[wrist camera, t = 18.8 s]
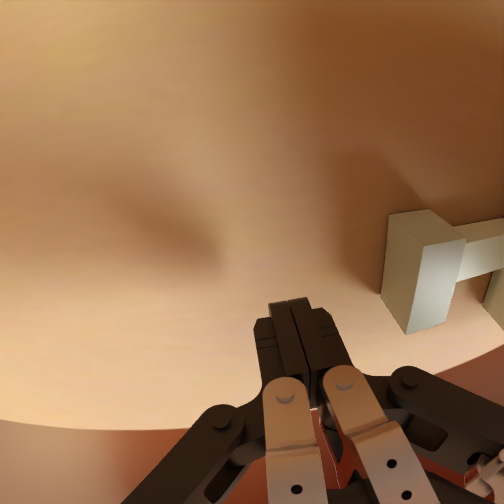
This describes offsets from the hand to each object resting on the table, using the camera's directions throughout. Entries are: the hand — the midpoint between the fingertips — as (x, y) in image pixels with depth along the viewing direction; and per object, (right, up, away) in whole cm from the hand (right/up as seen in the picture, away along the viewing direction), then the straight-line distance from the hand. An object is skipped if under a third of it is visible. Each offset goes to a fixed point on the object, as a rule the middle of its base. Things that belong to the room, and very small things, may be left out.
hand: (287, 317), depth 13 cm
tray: (+16, +4, +4) cm, 17 cm away
